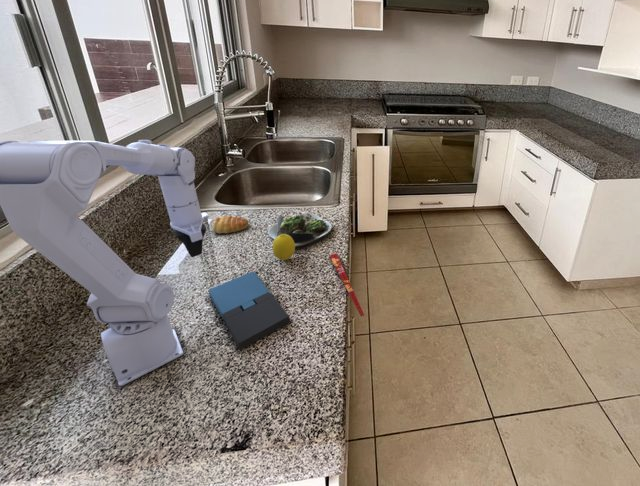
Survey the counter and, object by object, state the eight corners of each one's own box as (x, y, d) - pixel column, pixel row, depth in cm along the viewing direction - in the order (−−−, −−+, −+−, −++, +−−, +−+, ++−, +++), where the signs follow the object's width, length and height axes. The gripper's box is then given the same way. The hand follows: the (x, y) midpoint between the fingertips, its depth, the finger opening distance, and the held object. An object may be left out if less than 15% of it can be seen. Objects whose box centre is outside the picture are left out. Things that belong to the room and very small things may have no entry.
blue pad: (226, 325, 72) (224, 318, 71) (209, 295, 79) (208, 289, 79) (274, 301, 78) (273, 295, 77) (254, 276, 86) (253, 270, 85)
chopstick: (359, 318, 74) (359, 315, 74) (329, 257, 93) (329, 254, 93) (368, 315, 75) (368, 311, 75) (337, 255, 94) (336, 253, 94)
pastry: (250, 221, 110) (248, 210, 109) (246, 232, 104) (244, 221, 103) (218, 224, 108) (216, 213, 107) (212, 236, 102) (209, 225, 100)
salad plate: (254, 230, 105) (251, 217, 103) (307, 211, 117) (305, 199, 116) (284, 258, 93) (281, 243, 91) (339, 233, 105) (338, 220, 103)
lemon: (290, 251, 96) (286, 226, 93) (300, 259, 93) (297, 234, 90) (270, 259, 92) (266, 234, 89) (280, 269, 89) (277, 242, 86)
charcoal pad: (240, 350, 66) (238, 343, 65) (223, 320, 73) (221, 314, 72) (289, 322, 73) (288, 316, 72) (270, 297, 79) (269, 291, 79)
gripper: (213, 207, 71) (225, 261, 76) (194, 185, 81) (206, 235, 86) (172, 219, 66) (188, 275, 72) (158, 194, 76) (173, 245, 81)
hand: (196, 254), depth 78 cm, fingers closed
